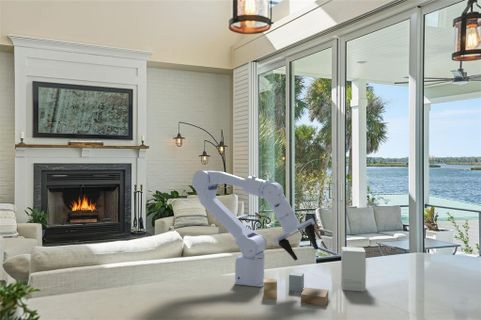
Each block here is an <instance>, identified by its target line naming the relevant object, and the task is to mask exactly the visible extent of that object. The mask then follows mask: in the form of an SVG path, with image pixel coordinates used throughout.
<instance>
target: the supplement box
mask: <svg viewBox="0 0 481 320" xmlns="http://www.w3.org/2000/svg"><path fill="white" fill-rule="evenodd" d="M340 254H341V256H340V257H341V261H340V262H341V263H340V265H341V269H340V270H341V271H340V273H341V274H340V277H341V278H340V280H341V282H340V284H341V290H342V291H350V292H352V291H353V292H366V289H367V288H366V286H367V285H366V275H367V274H366V273H367V272H366V271H367V270H366V269H367V268H366V266H367V265H366V264H367V263H366V262H367V261H366V260H367V258H366V256H367V255H366V254H367V253H366V249H365V248H364V247H355V246H341V252H340Z"/></svg>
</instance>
